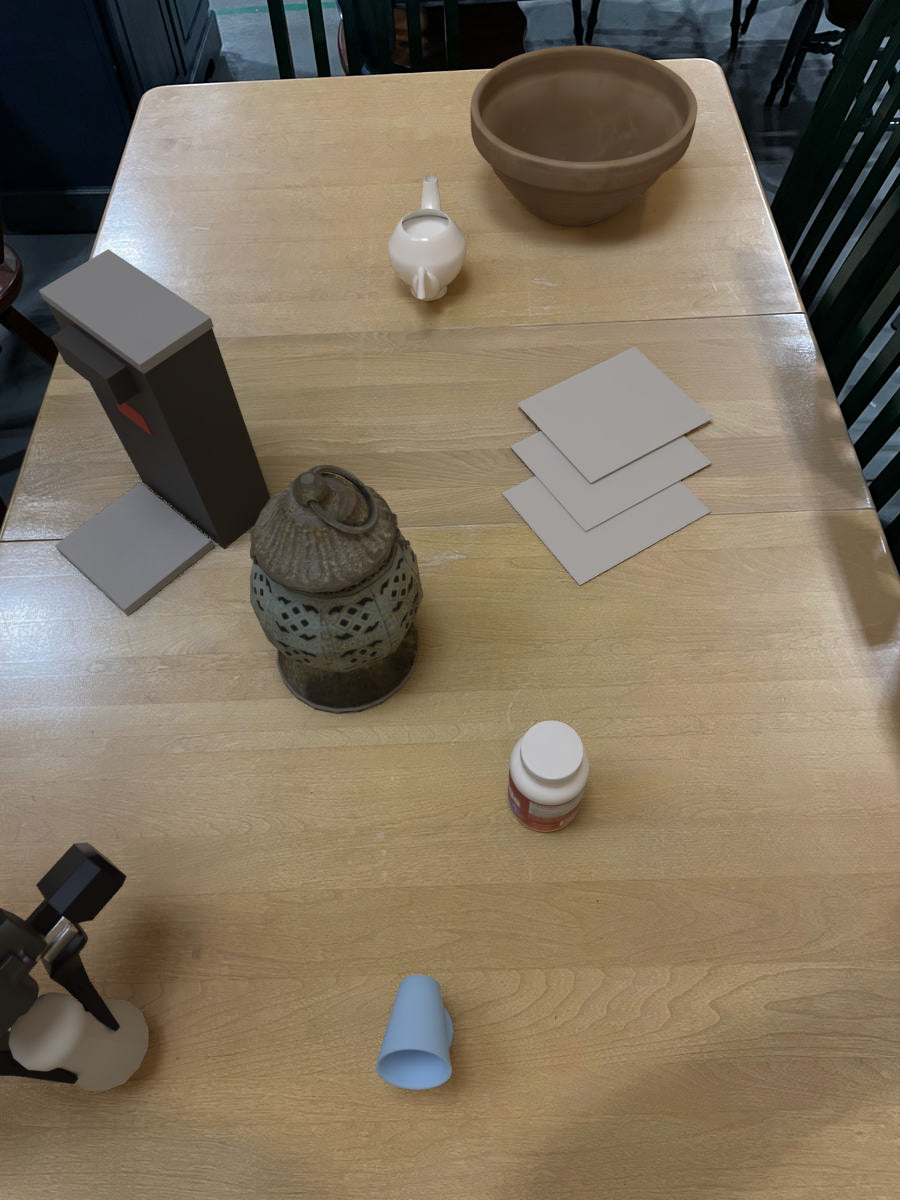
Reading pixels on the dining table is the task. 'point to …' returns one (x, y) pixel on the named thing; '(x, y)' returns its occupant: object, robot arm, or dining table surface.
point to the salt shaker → (80, 1040)
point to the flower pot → (581, 129)
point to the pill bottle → (547, 776)
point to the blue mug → (417, 1037)
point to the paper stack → (609, 464)
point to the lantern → (335, 591)
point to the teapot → (427, 246)
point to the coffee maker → (155, 428)
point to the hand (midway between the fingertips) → (96, 1052)
